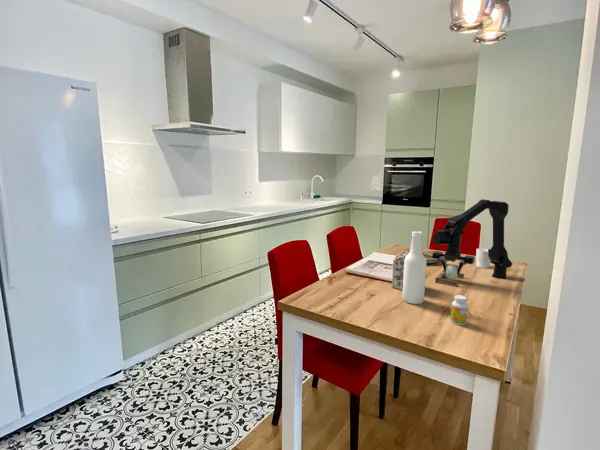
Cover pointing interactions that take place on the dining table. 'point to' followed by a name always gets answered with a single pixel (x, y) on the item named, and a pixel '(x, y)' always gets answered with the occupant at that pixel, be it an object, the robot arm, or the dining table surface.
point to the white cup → (482, 258)
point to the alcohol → (414, 272)
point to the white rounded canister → (451, 271)
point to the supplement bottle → (459, 310)
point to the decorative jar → (399, 270)
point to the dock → (447, 282)
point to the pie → (429, 258)
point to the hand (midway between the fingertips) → (451, 273)
